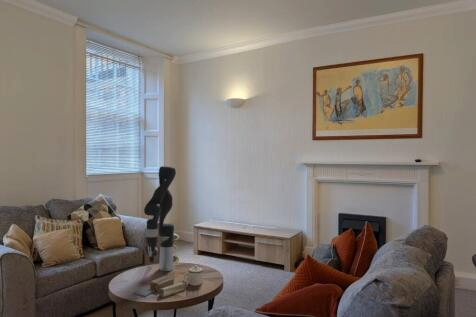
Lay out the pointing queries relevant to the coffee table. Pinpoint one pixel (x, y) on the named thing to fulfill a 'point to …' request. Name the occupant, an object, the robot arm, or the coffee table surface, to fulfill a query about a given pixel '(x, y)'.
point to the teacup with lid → (195, 276)
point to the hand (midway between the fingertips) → (151, 261)
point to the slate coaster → (144, 292)
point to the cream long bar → (172, 289)
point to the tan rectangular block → (161, 283)
